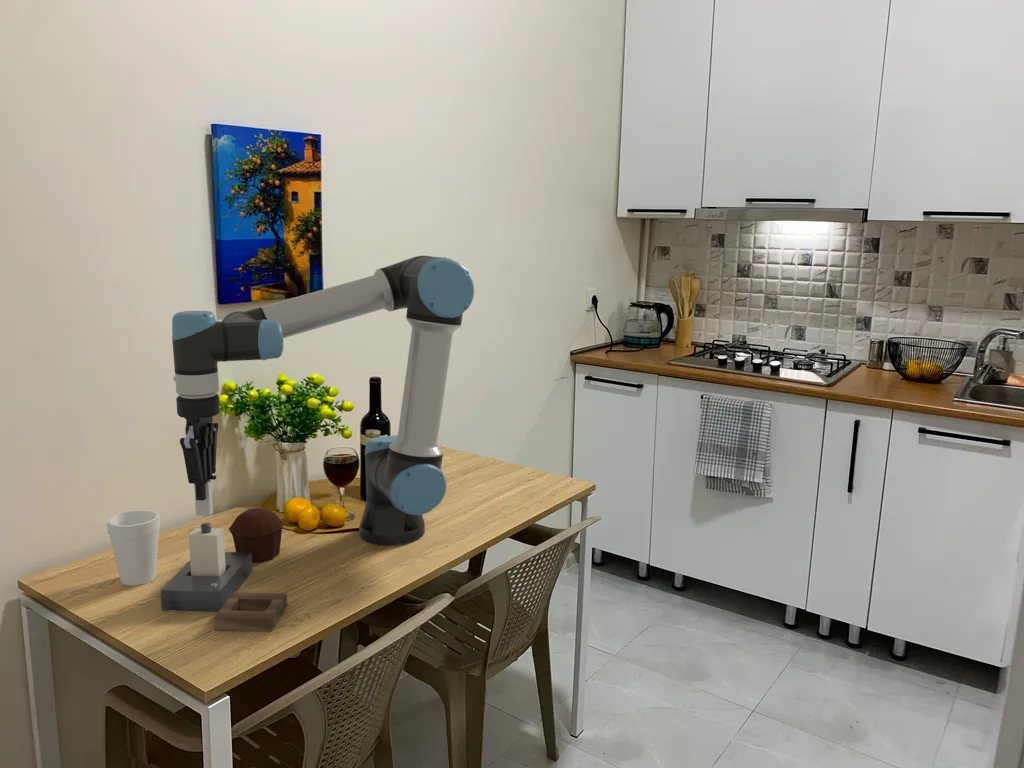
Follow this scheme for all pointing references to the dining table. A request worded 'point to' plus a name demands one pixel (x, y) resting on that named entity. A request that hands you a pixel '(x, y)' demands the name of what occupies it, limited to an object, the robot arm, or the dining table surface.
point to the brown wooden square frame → (251, 612)
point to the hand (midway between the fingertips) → (204, 513)
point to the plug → (207, 551)
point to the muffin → (257, 534)
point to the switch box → (206, 586)
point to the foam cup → (135, 545)
